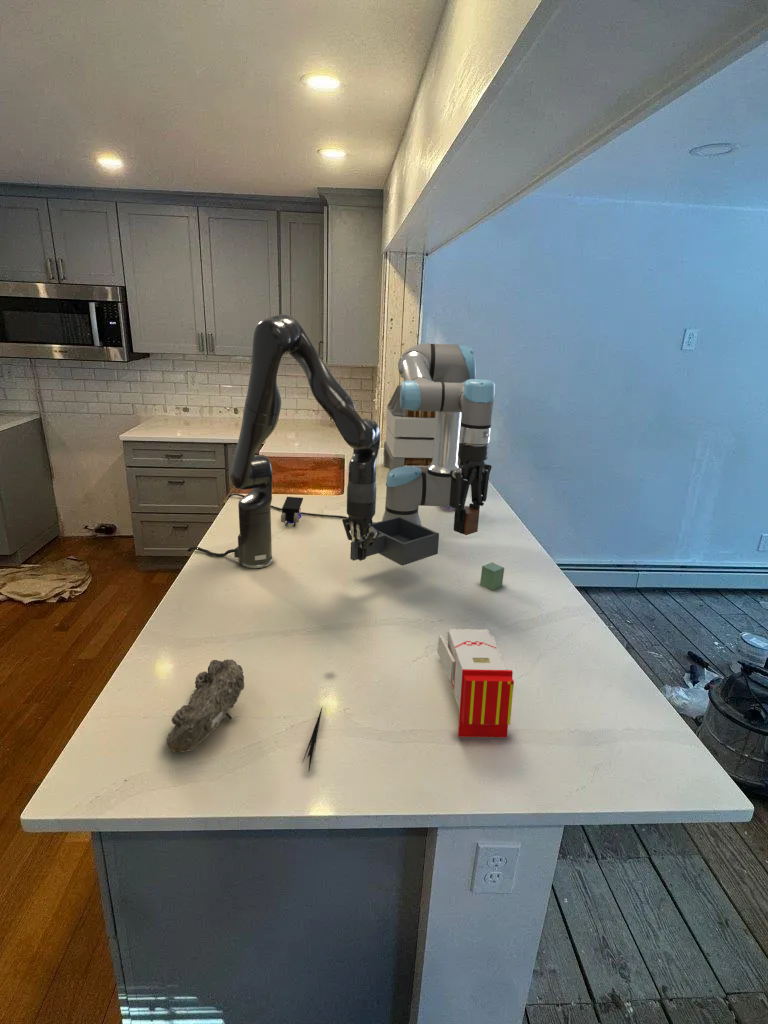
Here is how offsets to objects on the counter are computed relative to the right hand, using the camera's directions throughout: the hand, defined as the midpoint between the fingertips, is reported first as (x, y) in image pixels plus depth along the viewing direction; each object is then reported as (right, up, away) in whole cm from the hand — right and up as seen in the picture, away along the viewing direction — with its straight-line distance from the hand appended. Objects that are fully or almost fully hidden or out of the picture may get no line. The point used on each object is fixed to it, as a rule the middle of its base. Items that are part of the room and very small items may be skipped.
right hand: (465, 529), depth 149 cm
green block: (+10, -17, +16) cm, 25 cm away
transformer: (-4, +23, +125) cm, 128 cm away
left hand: (-28, -8, +3) cm, 29 cm away
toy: (-4, -33, -31) cm, 45 cm away
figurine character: (-55, +1, +57) cm, 79 cm away
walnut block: (0, 0, 0) cm, 0 cm away
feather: (-34, -35, -41) cm, 64 cm away
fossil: (-54, -34, -41) cm, 76 cm away
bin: (-21, -7, +9) cm, 24 cm away
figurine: (+5, +6, +79) cm, 79 cm away
